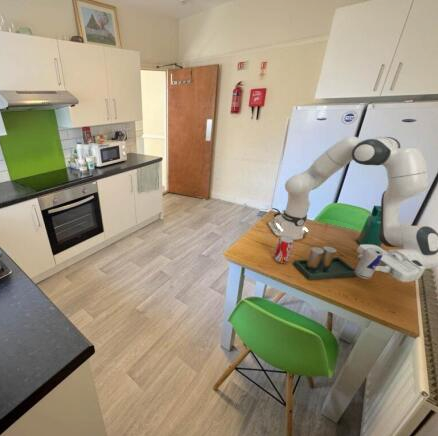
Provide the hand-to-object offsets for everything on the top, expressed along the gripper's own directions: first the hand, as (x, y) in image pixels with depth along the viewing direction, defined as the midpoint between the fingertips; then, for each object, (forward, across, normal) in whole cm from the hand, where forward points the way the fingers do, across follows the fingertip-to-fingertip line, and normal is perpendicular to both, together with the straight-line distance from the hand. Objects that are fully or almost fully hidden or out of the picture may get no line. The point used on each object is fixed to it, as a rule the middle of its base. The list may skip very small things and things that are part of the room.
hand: (366, 262), depth 96 cm
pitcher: (-39, -33, +17) cm, 54 cm away
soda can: (+17, -25, +17) cm, 35 cm away
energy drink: (-1, 0, +7) cm, 7 cm away
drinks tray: (+1, -15, +16) cm, 23 cm away
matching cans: (+5, -15, +16) cm, 23 cm away
